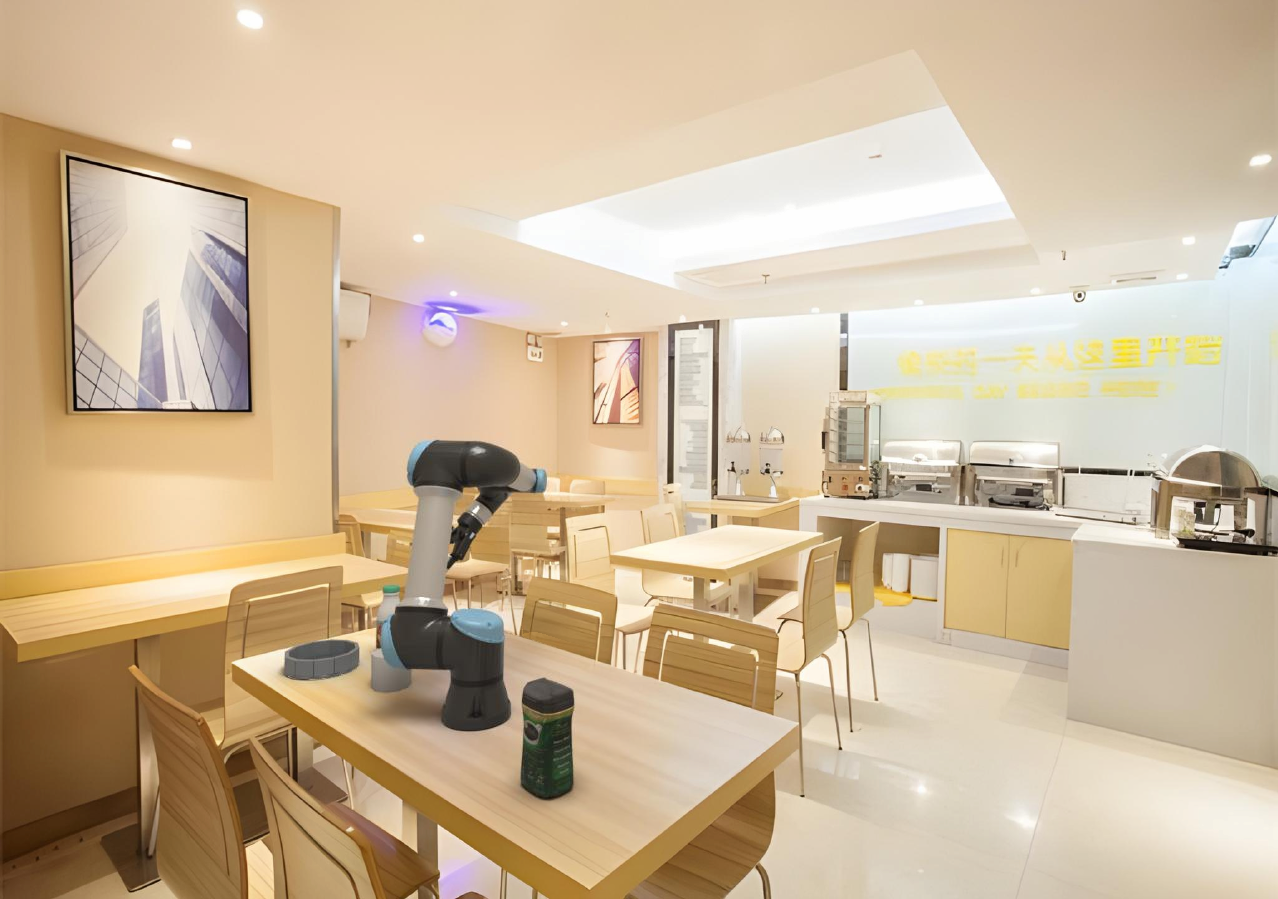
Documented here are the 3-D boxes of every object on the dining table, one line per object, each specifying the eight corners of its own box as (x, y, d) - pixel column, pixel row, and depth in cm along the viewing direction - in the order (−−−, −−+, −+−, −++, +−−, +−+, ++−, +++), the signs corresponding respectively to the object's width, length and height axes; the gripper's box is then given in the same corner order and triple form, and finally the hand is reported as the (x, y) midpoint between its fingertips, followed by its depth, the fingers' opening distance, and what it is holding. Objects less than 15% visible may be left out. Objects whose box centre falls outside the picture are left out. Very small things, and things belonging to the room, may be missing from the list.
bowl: (372, 665, 176) (372, 647, 176) (309, 685, 161) (310, 665, 161) (333, 653, 186) (333, 635, 185) (270, 671, 170) (270, 652, 170)
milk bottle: (377, 652, 187) (378, 583, 187) (405, 649, 189) (406, 582, 189) (374, 660, 180) (375, 589, 180) (403, 658, 182) (404, 588, 182)
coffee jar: (581, 787, 115) (582, 684, 115) (545, 804, 109) (546, 696, 109) (548, 768, 122) (549, 670, 122) (513, 783, 116) (514, 681, 116)
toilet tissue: (398, 672, 171) (398, 640, 171) (416, 687, 161) (416, 653, 161) (362, 679, 165) (363, 646, 165) (378, 695, 155) (379, 660, 155)
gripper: (501, 531, 194) (454, 587, 184) (463, 522, 213) (419, 572, 203) (485, 514, 190) (436, 571, 181) (448, 507, 209) (402, 558, 199)
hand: (427, 572), depth 192 cm, fingers open, 13 cm apart
